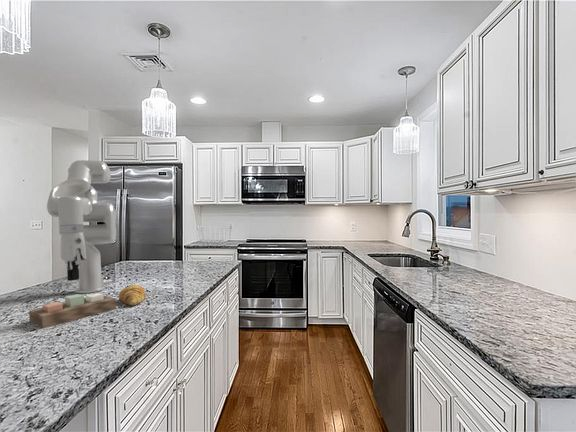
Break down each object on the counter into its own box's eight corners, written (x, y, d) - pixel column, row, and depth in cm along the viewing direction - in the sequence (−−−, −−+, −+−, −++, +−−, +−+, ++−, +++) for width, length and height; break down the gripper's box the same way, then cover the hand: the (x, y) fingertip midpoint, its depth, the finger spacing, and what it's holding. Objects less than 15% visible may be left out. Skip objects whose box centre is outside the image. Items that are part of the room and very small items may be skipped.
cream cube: (98, 303, 130) (97, 293, 130) (103, 304, 127) (103, 294, 127) (86, 305, 126) (85, 295, 126) (91, 307, 124) (91, 297, 123)
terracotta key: (57, 312, 118) (57, 301, 118) (63, 314, 116) (62, 303, 116) (43, 316, 115) (42, 305, 114) (48, 318, 112) (47, 307, 112)
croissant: (141, 314, 130) (151, 295, 132) (116, 306, 126) (126, 287, 128) (138, 300, 149) (147, 284, 151) (116, 293, 145) (125, 276, 146)
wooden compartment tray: (100, 304, 134) (100, 294, 134) (116, 308, 127) (115, 298, 127) (29, 321, 115) (29, 310, 114) (43, 328, 108) (42, 316, 108)
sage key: (78, 304, 124) (78, 294, 124) (84, 306, 121) (83, 295, 121) (65, 307, 120) (64, 296, 120) (70, 309, 118) (70, 298, 118)
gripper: (92, 229, 119) (94, 279, 119) (73, 229, 127) (75, 276, 127) (69, 230, 113) (71, 283, 113) (51, 230, 121) (53, 280, 121)
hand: (73, 279), depth 120 cm, fingers closed
